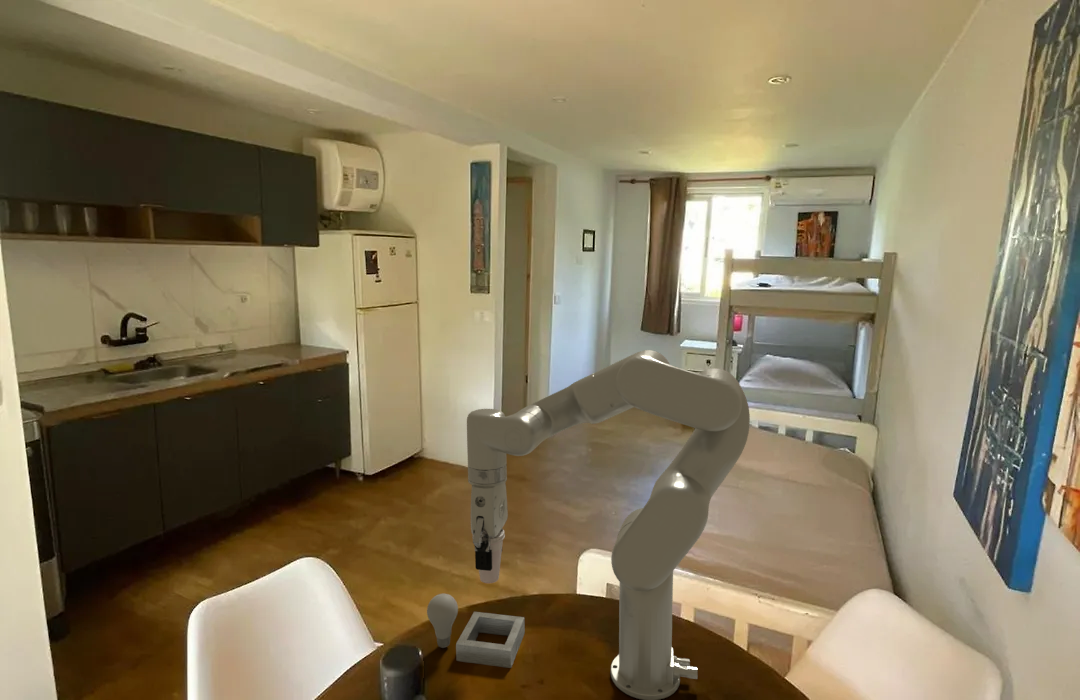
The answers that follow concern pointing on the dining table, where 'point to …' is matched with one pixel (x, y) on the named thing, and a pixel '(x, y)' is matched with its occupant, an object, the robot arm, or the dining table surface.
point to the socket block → (490, 651)
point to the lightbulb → (442, 617)
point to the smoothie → (493, 558)
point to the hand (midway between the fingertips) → (489, 559)
